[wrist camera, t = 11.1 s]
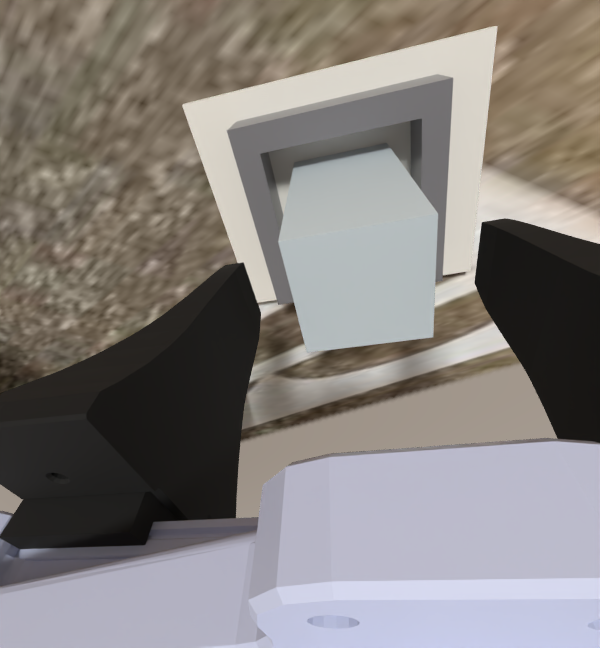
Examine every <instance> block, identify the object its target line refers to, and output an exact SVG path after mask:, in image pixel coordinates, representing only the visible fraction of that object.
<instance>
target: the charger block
mask: <svg viewBox="0 0 600 648" xmlns="http://www.w3.org/2000/svg"><path fill="white" fill-rule="evenodd" d="M437 229H438V213H437V211H436V210H435V209H434V207H433V206H432V205H431V203H430V202H429V200H428V199H427V198H426V196H425V195H424V194H423V192H422V191H421V189H420V188H419V187H418V185H417V184H416V182H415V181H414V180H413V178H412V177H411V176H410V174H409V173H408V171H407V170H406V169H405V167H404V166H403V165H402V163H401V162H400V160H399V159H398V158H397V156H396V155H395V153H394V152H393V151H392V149H391V148H390V147H389V145H388V144H387V143H384V144H379V145H374V146H370V147H365V148H360V149H355V150H351V151H346V152H341V153H336V154H332V155H327V156H322V157H317V158H312V159H308V160H303V161H298V162H294V166H293V171H292V176H291V181H290V186H289V191H288V196H287V201H286V206H285V211H284V216H283V220H282V225H281V230H280V235H279V240H278V243H279V247H280V251H281V254H282V258H283V262H284V266H285V270H286V274H287V278H288V281H289V285H290V289H291V293H292V297H293V301H294V304H295V308H296V312H297V316H298V320H299V324H300V327H301V331H302V335H303V339H304V343H305V347H306V350H307V353H308V352H316V351H325V350H333V349H341V348H349V347H357V346H366V345H374V344H382V343H390V342H398V341H407V340H415V339H423V338H431V337H433V326H434V302H435V278H436V253H437Z"/></svg>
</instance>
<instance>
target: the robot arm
mask: <svg viewBox="0 0 600 648" xmlns="http://www.w3.org/2000/svg"><path fill="white" fill-rule="evenodd" d="M475 285H476V287H477V290H478V292H479V295H480V297H481V299H482V302H483V304H484V306H485V308H486V310H487V311H488V313H489V315H490V316H491V318H492V319H493V321H494V323H495V324H496V326H497V327H498V329H499V330H500V332H501V333H502V335H503V336H504V338H505V339H506V341H507V343H508V344H509V346H510V347H511V349H512V350H513V352H514V353H515V355H516V356H517V358H518V359H519V361H520V362H521V364H522V366H523V367H524V369H525V371H526V373H527V374H528V376H529V378H530V380H531V382H532V384H533V386H534V388H535V390H536V392H537V394H538V396H539V398H540V400H541V403H542V405H543V406H544V409H545V411H546V413H547V416H548V418H549V420H550V422H551V425H552V427H553V429H554V431H555V434H556V435H557V438H558V439H551V438H540V439H526V440H513V441H499V442H485V443H471V444H457V445H444V446H430V447H417V448H402V449H389V450H376V451H375V450H374V451H361V452H347V453H333V454H327V455H322V456H318V457H314V458H309V459H305V460H300V461H296V462H292V463H291V464H289V465H288V466H286V467H285V468H284V469H283V470H281V471H280V472H279V473H278V474H276V475H275V476H274V477H272V478H271V479H270V480H269V481H267V482H266V483H265V484H264V485H263V489H262V496H261V504H260V511H259V517H252V518H236V495H237V478H238V463H239V450H240V439H241V429H242V420H243V411H244V403H245V398H246V392H247V388H248V384H249V380H250V375H251V371H252V367H253V363H254V358H255V354H256V350H257V345H258V341H259V333H260V319H261V312H260V309H259V306H258V303H257V300H256V297H255V294H254V291H253V288H252V285H251V283H250V280H249V277H248V274H247V271H246V268H245V265H244V262H242V263H236V264H230V265H225V266H224V267H222V268H221V269H219V270H218V271H217V272H215V273H214V274H213V275H212V276H210V277H209V278H208V279H207V280H206V281H205V282H203V283H202V284H201V285H200V286H199V287H197V288H196V289H195V290H194V291H193V292H192V293H190V294H189V295H188V296H187V297H185V298H184V299H183V300H182V301H180V302H179V303H178V304H177V305H175V306H174V307H173V308H171V309H170V310H169V311H168V312H166V313H165V314H164V315H162V316H161V317H159V318H158V319H156V320H155V321H154V322H152V323H151V324H149V325H147V326H146V327H144V328H143V329H141V330H140V331H138V332H136V333H135V334H133V335H131V336H130V337H128V338H126V339H124V340H122V341H120V342H119V343H117V344H115V345H113V346H111V347H110V348H108V349H106V350H104V351H102V352H100V353H98V354H96V355H94V356H92V357H90V358H88V359H86V360H83V361H81V362H79V363H77V364H74V365H72V366H70V367H68V368H65V369H63V370H61V371H58V372H56V373H53V374H51V375H48V376H46V377H43V378H40V379H38V380H35V381H32V382H30V383H27V384H24V385H22V386H19V387H16V388H14V389H11V390H8V391H5V392H3V393H1V394H0V484H1V485H2V486H4V487H5V488H7V489H8V490H10V491H11V492H13V493H14V494H16V495H17V496H18V497H20V498H21V499H23V501H22V502H21V504H20V505H19V507H18V509H17V510H16V512H15V513H14V514H12V513H8V512H4V511H0V648H600V244H597V243H593V242H590V241H586V240H582V239H579V238H575V237H572V236H568V235H565V234H561V233H558V232H555V231H551V230H548V229H545V228H541V227H538V226H535V225H531V224H528V223H524V222H520V221H516V220H511V219H499V220H493V221H487V222H482V226H481V234H480V243H479V251H478V259H477V268H476V276H475Z"/></svg>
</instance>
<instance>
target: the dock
mask: <svg viewBox="0 0 600 648" xmlns="http://www.w3.org/2000/svg"><path fill="white" fill-rule="evenodd" d="M496 34H497V26H492V27H488V28H484V29H480V30H476V31H472V32H468V33H464V34H460V35H456V36H452V37H448V38H444V39H440V40H436V41H432V42H428V43H424V44H420V45H416V46H412V47H408V48H404V49H400V50H396V51H392V52H388V53H384V54H380V55H376V56H373V57H369V58H365V59H361V60H357V61H353V62H349V63H345V64H341V65H337V66H333V67H329V68H325V69H321V70H317V71H313V72H309V73H305V74H301V75H297V76H293V77H289V78H285V79H281V80H277V81H273V82H269V83H265V84H261V85H257V86H253V87H249V88H245V89H241V90H237V91H233V92H229V93H225V94H221V95H217V96H213V97H209V98H205V99H201V100H197V101H193V102H189V103H185V104H183V105H182V106H183V109H184V112H185V115H186V118H187V120H188V123H189V126H190V129H191V132H192V135H193V137H194V140H195V143H196V146H197V149H198V152H199V154H200V157H201V160H202V163H203V166H204V169H205V171H206V174H207V177H208V180H209V183H210V186H211V188H212V191H213V194H214V197H215V200H216V203H217V205H218V208H219V211H220V214H221V217H222V220H223V222H224V225H225V228H226V231H227V234H228V237H229V239H230V242H231V245H232V248H233V251H234V254H235V256H236V259H237V262H238V263H242V262H244V265H245V268H246V271H247V274H248V277H249V280H250V283H251V285H252V288H253V291H254V294H255V297H256V300H257V303H259V302H266V301H273V300H277V302H278V305H280V304H287V303H294V301H293V297H292V293H291V289H290V285H289V281H288V278H287V274H286V270H285V266H284V262H283V258H282V254H281V251H280V247H279V243H278V240H279V235H280V230H281V225H282V220H283V216H284V211H285V206H286V201H287V196H288V191H289V186H290V181H291V176H292V171H293V166H294V162H298V161H303V160H308V159H312V158H317V157H322V156H327V155H332V154H336V153H341V152H346V151H351V150H355V149H360V148H365V147H370V146H374V145H379V144H384V143H387V144H388V145H389V147H390V148H391V149H392V151H393V152H394V153H395V155H396V156H397V158H398V159H399V160H400V162H401V163H402V165H403V166H404V167H405V169H406V170H407V171H408V173H409V174H410V176H411V177H412V178H413V180H414V181H415V182H416V184H417V185H418V187H419V188H420V189H421V191H422V192H423V194H424V195H425V196H426V198H427V199H428V200H429V202H430V203H431V205H432V206H433V207H434V209H435V210H436V211H437V213H438V229H437V253H436V278H435V282H437V281H442V279H443V275H447V274H454V273H461V272H467V271H471V262H472V253H473V244H474V234H475V225H476V216H477V207H478V198H479V189H480V180H481V171H482V162H483V153H484V143H485V134H486V125H487V116H488V107H489V98H490V89H491V80H492V71H493V61H494V52H495V43H496Z"/></svg>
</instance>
